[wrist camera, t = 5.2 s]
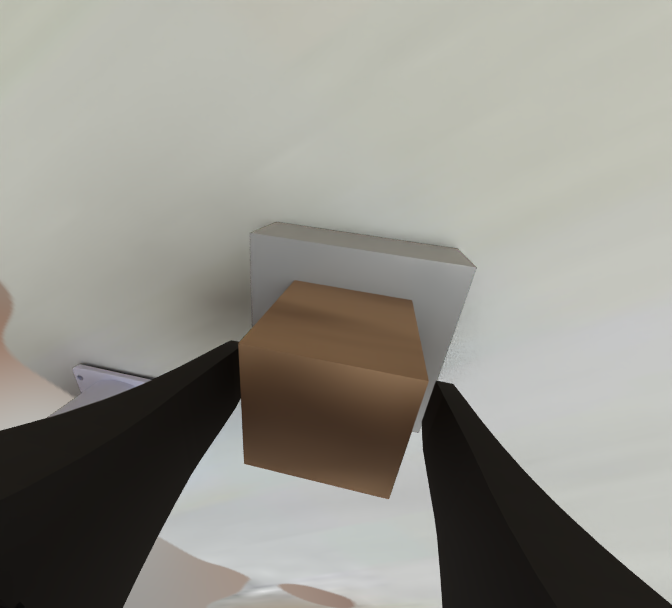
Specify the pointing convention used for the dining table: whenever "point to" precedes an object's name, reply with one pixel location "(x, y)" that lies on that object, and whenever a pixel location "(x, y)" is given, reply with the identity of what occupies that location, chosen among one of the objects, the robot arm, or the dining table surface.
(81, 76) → the dining table surface
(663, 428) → the dining table surface
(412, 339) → the block
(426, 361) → the base
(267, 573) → the dining table surface
